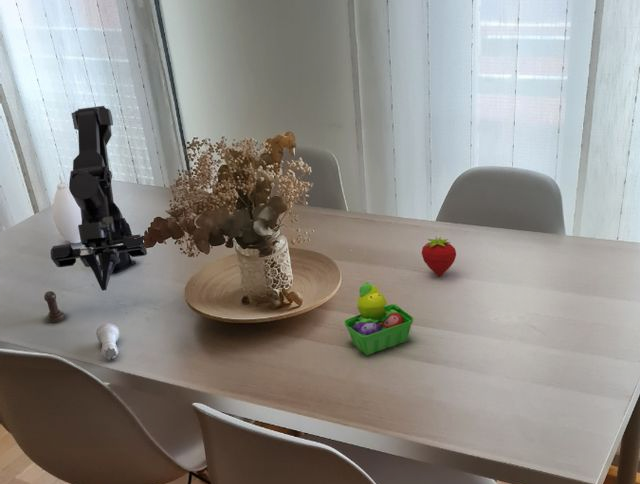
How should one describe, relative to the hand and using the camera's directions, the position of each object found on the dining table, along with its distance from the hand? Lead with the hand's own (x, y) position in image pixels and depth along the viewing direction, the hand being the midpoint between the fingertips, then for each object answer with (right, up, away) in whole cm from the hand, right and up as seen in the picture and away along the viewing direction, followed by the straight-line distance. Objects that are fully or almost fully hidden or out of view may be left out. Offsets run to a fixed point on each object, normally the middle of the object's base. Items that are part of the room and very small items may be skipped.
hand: (103, 290), depth 177 cm
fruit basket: (+55, -11, -12) cm, 58 cm away
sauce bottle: (-17, +15, +41) cm, 47 cm away
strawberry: (+70, +4, +9) cm, 70 cm away
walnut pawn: (-12, -6, +6) cm, 14 cm away
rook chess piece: (+2, -9, -5) cm, 10 cm away
